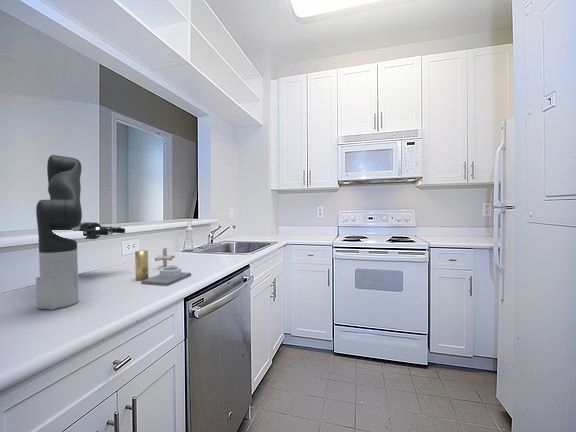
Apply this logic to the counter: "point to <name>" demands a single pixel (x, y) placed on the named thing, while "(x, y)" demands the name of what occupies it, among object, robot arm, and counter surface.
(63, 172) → the robot arm
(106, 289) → the counter surface
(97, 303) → the counter surface
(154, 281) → the plate
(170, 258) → the pipe connector
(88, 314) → the counter surface
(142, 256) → the cylinder
